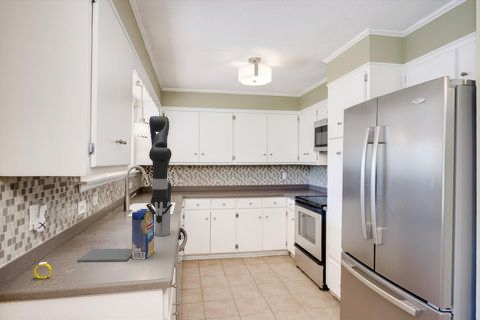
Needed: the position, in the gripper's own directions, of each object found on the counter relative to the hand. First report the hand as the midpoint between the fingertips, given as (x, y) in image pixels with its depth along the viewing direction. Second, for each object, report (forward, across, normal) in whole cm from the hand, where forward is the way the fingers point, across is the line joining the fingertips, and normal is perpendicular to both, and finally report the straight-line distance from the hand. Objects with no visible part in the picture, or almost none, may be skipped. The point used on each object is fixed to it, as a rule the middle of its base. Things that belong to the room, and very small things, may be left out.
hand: (159, 222), depth 138 cm
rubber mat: (+16, +24, 0) cm, 28 cm away
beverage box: (+16, +7, 0) cm, 18 cm away
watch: (+16, +40, +25) cm, 50 cm away
